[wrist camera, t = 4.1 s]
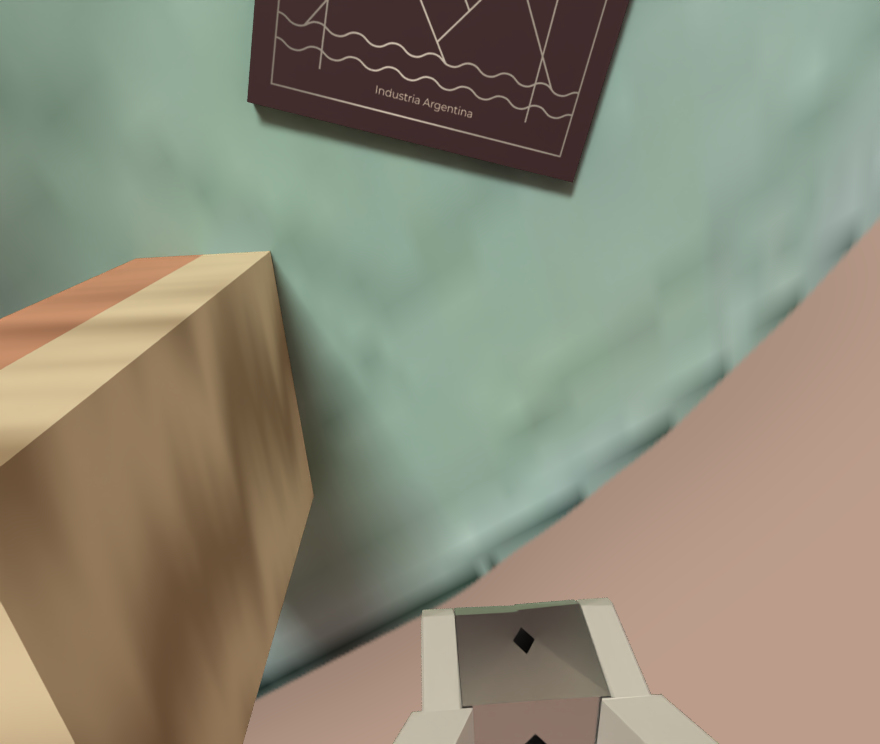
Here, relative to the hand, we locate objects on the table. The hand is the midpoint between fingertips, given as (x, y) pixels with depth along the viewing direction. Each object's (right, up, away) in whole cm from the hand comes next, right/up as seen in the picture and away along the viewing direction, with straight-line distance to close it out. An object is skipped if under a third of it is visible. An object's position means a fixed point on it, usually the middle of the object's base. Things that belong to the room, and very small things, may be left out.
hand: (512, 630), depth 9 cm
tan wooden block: (-8, +4, +9) cm, 13 cm away
